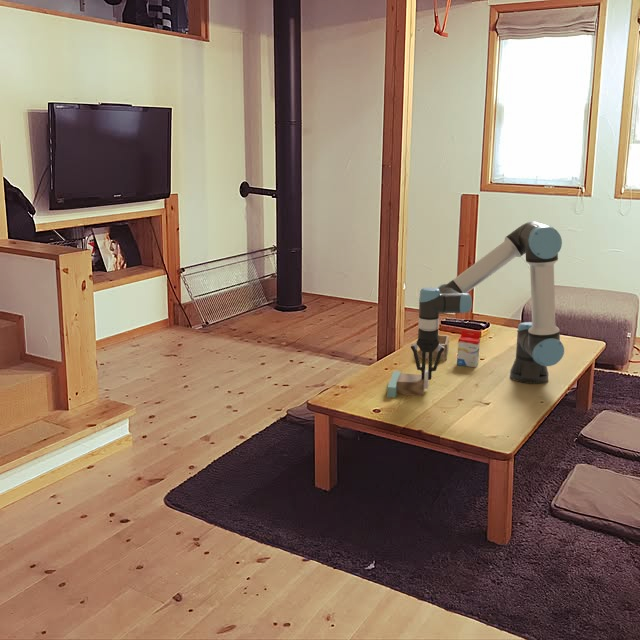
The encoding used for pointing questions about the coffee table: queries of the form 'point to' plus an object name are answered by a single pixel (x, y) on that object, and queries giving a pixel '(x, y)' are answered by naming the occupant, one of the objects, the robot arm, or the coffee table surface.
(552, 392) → the coffee table surface
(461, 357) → the ink box
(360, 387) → the coffee table surface
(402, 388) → the block
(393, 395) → the teal long rectangular bar
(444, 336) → the box
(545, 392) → the coffee table surface
